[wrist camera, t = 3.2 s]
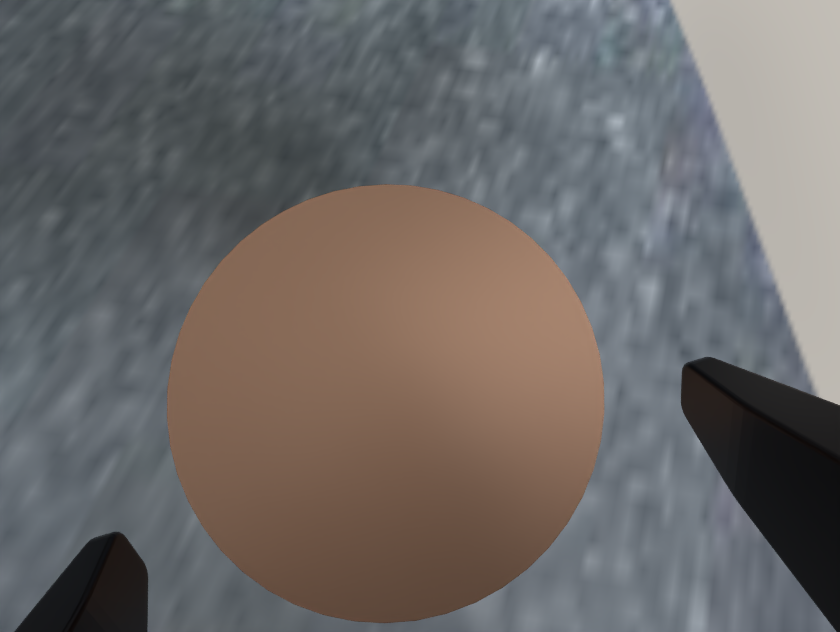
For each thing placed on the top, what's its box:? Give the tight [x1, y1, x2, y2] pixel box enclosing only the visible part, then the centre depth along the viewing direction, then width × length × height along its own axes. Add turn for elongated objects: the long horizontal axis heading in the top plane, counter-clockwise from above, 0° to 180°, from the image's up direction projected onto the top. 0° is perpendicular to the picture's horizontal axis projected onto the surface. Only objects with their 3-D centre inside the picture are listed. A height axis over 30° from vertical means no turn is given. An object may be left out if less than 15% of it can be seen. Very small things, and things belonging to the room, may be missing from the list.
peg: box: [167, 184, 604, 623], centre depth 12 cm, size 5×5×12 cm
